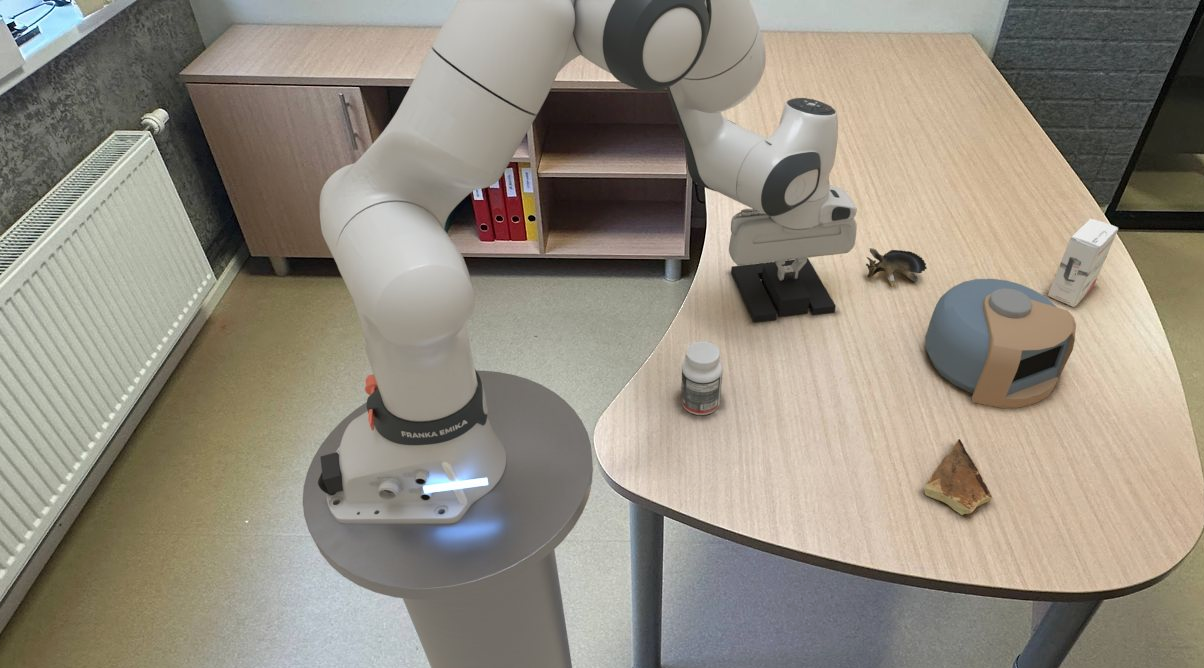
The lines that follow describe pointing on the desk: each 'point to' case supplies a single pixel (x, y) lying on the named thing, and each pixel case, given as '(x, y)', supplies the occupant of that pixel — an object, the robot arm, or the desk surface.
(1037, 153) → the desk surface
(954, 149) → the desk surface
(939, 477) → the shard
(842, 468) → the desk surface
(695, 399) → the pill bottle
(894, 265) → the toy dinosaur figure
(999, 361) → the alarm clock
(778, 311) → the small black block
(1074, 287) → the ink box
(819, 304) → the base pad
